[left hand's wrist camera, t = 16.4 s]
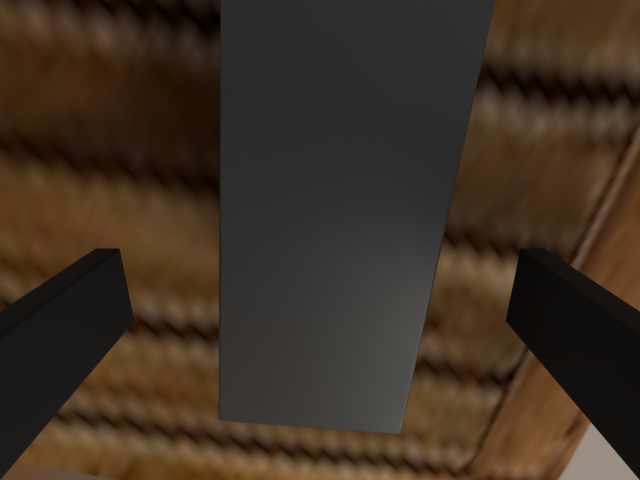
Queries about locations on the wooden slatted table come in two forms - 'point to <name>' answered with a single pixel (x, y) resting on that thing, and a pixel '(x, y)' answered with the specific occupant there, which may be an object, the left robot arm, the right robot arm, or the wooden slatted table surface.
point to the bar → (336, 199)
